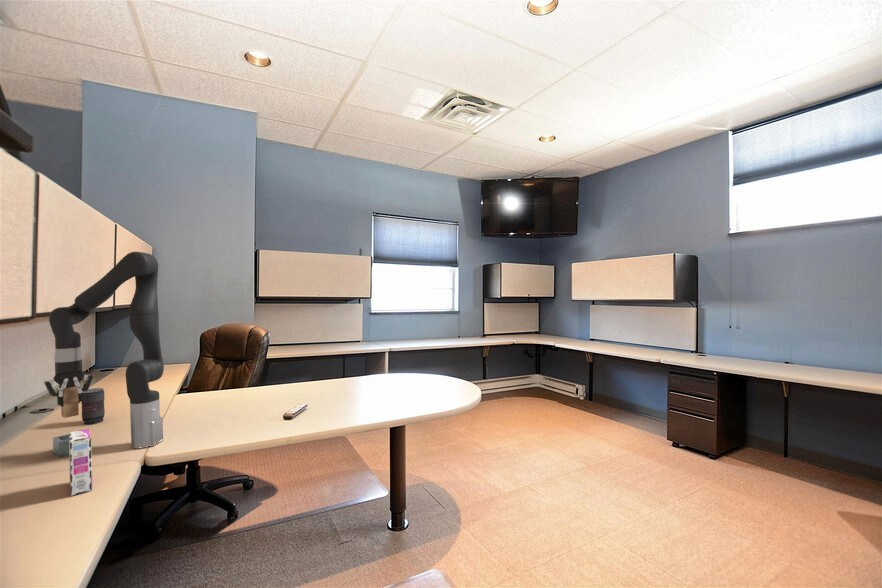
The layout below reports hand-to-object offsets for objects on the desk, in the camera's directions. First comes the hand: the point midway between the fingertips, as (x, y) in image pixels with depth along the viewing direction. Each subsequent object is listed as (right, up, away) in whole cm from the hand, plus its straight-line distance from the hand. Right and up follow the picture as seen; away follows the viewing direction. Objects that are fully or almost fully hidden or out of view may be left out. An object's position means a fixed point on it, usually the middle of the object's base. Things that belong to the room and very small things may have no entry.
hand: (69, 404), depth 148 cm
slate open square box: (0, -18, 0) cm, 18 cm away
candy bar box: (+30, -18, -27) cm, 44 cm away
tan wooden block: (0, -4, 0) cm, 4 cm away
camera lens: (-19, -18, +32) cm, 41 cm away
